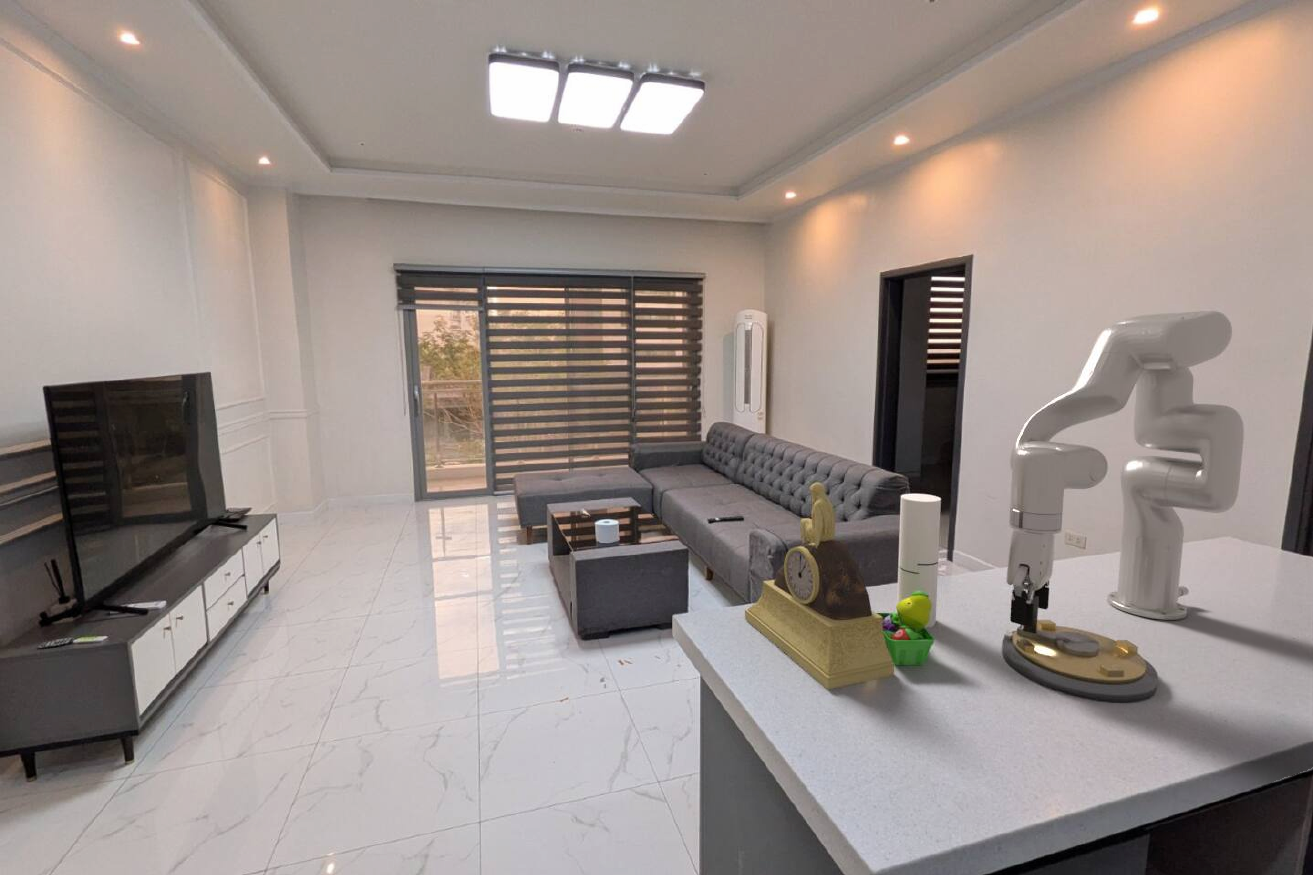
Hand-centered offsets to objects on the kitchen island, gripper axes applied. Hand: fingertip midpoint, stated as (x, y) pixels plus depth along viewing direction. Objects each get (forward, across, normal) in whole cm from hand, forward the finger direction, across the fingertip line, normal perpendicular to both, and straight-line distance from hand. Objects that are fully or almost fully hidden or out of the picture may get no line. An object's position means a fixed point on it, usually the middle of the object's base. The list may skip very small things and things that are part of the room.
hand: (1029, 615), depth 102 cm
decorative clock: (+7, +23, -29) cm, 38 cm away
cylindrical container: (+7, 0, -19) cm, 21 cm away
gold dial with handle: (+5, 0, +7) cm, 8 cm away
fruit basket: (+7, +15, -16) cm, 23 cm away
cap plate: (+7, 0, +7) cm, 10 cm away
